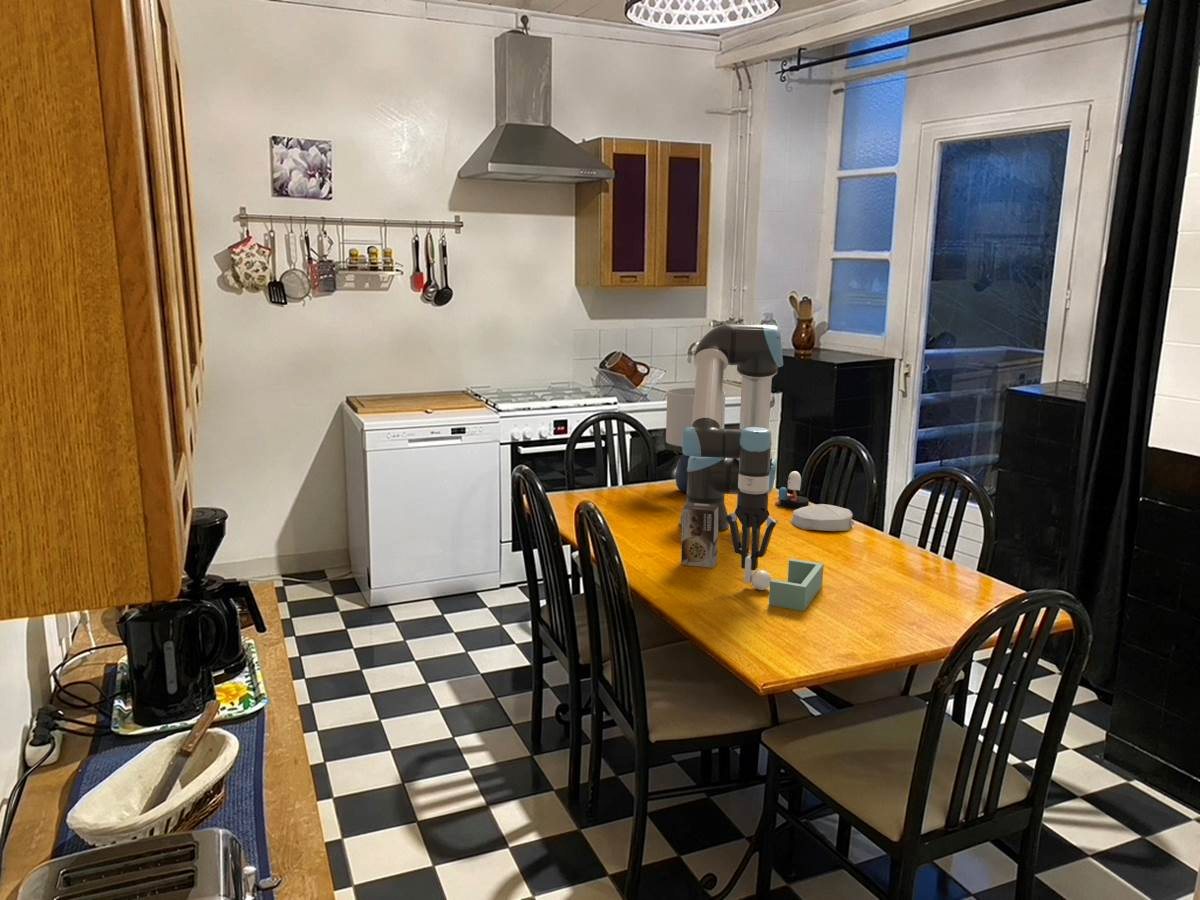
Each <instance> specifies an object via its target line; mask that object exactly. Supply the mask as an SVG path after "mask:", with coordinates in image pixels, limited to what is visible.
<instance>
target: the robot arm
mask: <svg viewBox="0 0 1200 900" xmlns="http://www.w3.org/2000/svg"><path fill="white" fill-rule="evenodd" d="M693 365H694V368H695V369H696V372H695V374H696V375H695V383H694V388H695V393H694V405H693V416H692V427H686V428H684V430H683V439H682V447H681V448H682V451H681V452H682V455H683V454H684V455H687V456H690V457H689V460H688V468H687V471H688V479H687V493H686V500H685V504H684V506H685V505H686V504H687V503H688V502H689V503H702V504H713V505H719V524H718V532H720V531H721V532H722V531H725V530H727V529H730V535H731V539H732V546H733V550H734V553H735V554H738V555H740V556H741V563H740V564H741V569H743V570H744V575H743V576H744V577H743V578H744V579H743V583H744V584H752V582H751V578H752V575H753V574H754V572H756V571H757V569H758V567H759V565H758V563H759V558H763V557H764V556H765V555H766V553H767V550H768V547H769V544H770V540H771V537H772V534H773V531H774V528H776V526H777V525H778V524H779V521H778V520H777V519H773V518H772V517H771V516H770V512H769V510H768V507H769V495H770V494H771V492H772V491H773V488H774V484H775V479H776V472H777V465H778V464H777V459H776V458H774V457H773V453H772V452H771V449H772V445H773V443H772V432H771V430H770V415H771V414H770V412H771V396H772V395H771V394H772V381H773V380H772V379H773V378H774V376H775V375H777V374H778V371H779V370H778V369H779V368H781V367H783V366H784V359H783V346H782V332H781V329H780V328H779V326H777V325H769V324H732V323H725V324H721V325H718V326H716V327H713V328H712V329H711V330H710V331H708V332H707V333H706V334H705V335H704V336H703V337H702V338H701V339H700V341H699V342H698V344H697V345H696V348H695V351H694V354H693ZM728 365H729V366H736V371H737V373H738V374H739V375H740V376H741V389H740V411H739V428H724V429H722V428H720V425H721V408H722V392H723V391H724V390H723V387H724V376H725V375H724V374H725V373H724V372H725V370H726V369H727V368H728ZM725 495H736V496H737V502H736V507H735V510H734V512H733V513H729V514H728V511H727V507H726V504H725ZM737 520H738V521H739V522H740V524H741V531H742V532H741V533H742V534H741V537H740V530H739V525H738V522H737ZM765 522H766V525H765V526H766V529H765V531H764V534H763V538H762V541H761V544H760V537H761V536H760V535H761V528H762V527H761V526H762V525H763V524H764V523H765ZM679 523H680V526H681V527H682V514H680V522H679ZM751 533H752V534H751ZM750 536H751V550H750ZM750 551H751V552H750ZM750 553H751V554H750Z"/></svg>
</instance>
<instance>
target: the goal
mask: <svg viewBox="0 0 1200 900" xmlns="http://www.w3.org/2000/svg"><path fill="white" fill-rule="evenodd" d="M787 570H788V571H787V581H785V580H778V579H772V578H771V581H770V586H769V593H768V594H769V598H768V606H771V607H772V606H773V607H777V608H783V609H789V610H795V611H801V612H805V610H806V609H807V608H808V606H809V605H811V602H812V601H813V600H814V599H815V597H816V595H817V594H818V593H819V591H820V590H821V589H822V587H823V579H824V563H821V562H815V561H807V560H802V559H801V560H800V559H795V558H790V559H789V560H788V569H787Z"/></svg>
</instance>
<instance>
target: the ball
mask: <svg viewBox="0 0 1200 900" xmlns="http://www.w3.org/2000/svg"><path fill="white" fill-rule="evenodd" d="M771 580H772V576H771V574H770V573H769V572H768V571H766V570H764V569H759V570H755V571H754V572H753V575H752V578H751V585H752V587H754V588H755V589H757V590H759V591H766V590H767V589H769V588H770V581H771Z"/></svg>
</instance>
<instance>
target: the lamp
mask: <svg viewBox="0 0 1200 900" xmlns="http://www.w3.org/2000/svg"><path fill="white" fill-rule="evenodd" d="M694 393H695V387H676V388H671V389H667V391H666V417H665V419H666V422H665V423H666V424H665V442H666V443H667V444H669V445H672V446H675V447H681V448H682V439H683V430H684V428H686V427H692V416H693V405H694ZM725 411H726V391H725V390H723V392H722V408H721V425H720V428H722V429H725V418H726V417H725V416H726V413H725ZM689 457H690V456H687V455H684V454H683V453H682V455H681V456H680V457H679V458H678V461H677V464H676V469H675V485H676V487H677V489H679V491H680V492H682V493H684V494H687V479H688V471H687V468H688V460H689Z"/></svg>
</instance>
